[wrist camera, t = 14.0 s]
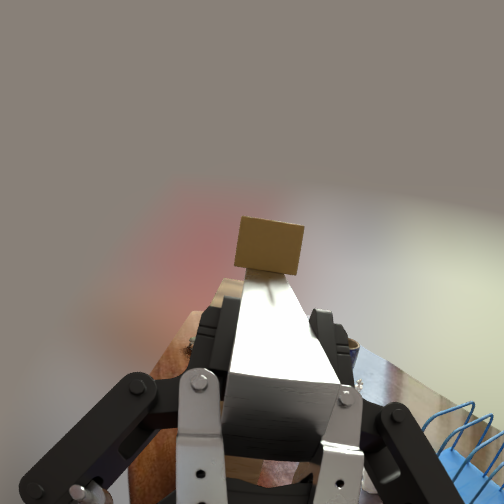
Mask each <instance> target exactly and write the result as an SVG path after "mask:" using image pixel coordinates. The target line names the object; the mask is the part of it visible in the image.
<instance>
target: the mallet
mask: <svg viewBox="0 0 504 504" xmlns="http://www.w3.org/2000/svg"><path fill="white" fill-rule="evenodd" d="M303 233H304V226H303V225H297V224H291V223H285V222H278V221H272V220H266V219H259V218H253V217H247V216H242V217H241V222H240V229H239V235H238V242H237V248H236V255H235V262H234V266H237V267H243V268H246V274H245V279H244V285H243V290H242V296H241V304H240V310H239V317H238V323H237V329H236V330H235V336H234V341H233V347H232V353H231V359H230V364H229V370H228V376H227V383H226V390H225V396H224V403H223V410H222V417H221V423H220V425H221V431H222V436H223V444H224V455H228V456H236V457H244V458H252V459H263V460H275V461H290V462H309V461H310V459H311V457H312V455H313V453H314V451H315V449H316V447H317V445H318V443H319V441H320V439H321V437H322V436H324V434H325V432H326V429H327V426H328V423H329V420H330V417H331V414H332V411H333V408H334V405H335V402H336V399H337V396H338V392H339V389H340V386H341V383H340V381H339V379H338V377H337V375H336V373H335V371H334V370H333V368H332V366H331V364H330V362H329V360H328V358H327V356H326V354H325V352H324V350H323V348H322V346H321V344H320V342H319V340H318V339H317V337H316V335H315V333H314V331H313V329H312V327H311V325H310V323H309V321H308V319H307V317H306V315H305V313H304V312H303V310H302V308H301V306H300V304H299V302H298V300H297V298H296V296H295V294H294V292H293V291H292V289H291V287H290V285H289V283H288V281H287V280H286V277H285V275H284V274H289V275H296V274H297V269H298V263H299V257H300V251H301V245H302V239H303Z"/></svg>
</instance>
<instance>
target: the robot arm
mask: <svg viewBox="0 0 504 504" xmlns="http://www.w3.org/2000/svg"><path fill="white" fill-rule="evenodd" d="M240 304H241V298H238V297H232V296H225V295H224V297H223V302H222V306H221V308H220V307H214V306H209V307H208V308H207V309H206V310H205V311H204V312H203V313H202V315H201V319H200V323H199V327H198V330H197V335H196V338H195V342H194V345H193V349H192V353H191V357H190V361H189V364H188V367H187V369H186V370H185V371H184V372H183V373H182V374H181V375H179V376H177V377H175V378H171V379H161V380H154V379H153V378H152V377H151V376H149V375H148V374H145V373H142V372H133V373H130V374H128V375H126V376H125V377H124V378H122V379H121V380H120V381H119V382H118V383H117V384H116V385H115V386H114V387H113V388H112V389H111V390H110V391H109V392H108V393H107V394H106V395H105V396H104V397H103V398H102V399H101V400H100V401H99V402H98V403H97V404H96V405H95V406H94V407H93V408H92V409H91V410H90V411H89V412H88V413H87V414H86V415H85V416H84V417H83V418H82V419H81V420H80V421H79V422H78V423H77V424H76V425H75V426H74V427H73V428H72V429H71V430H70V431H69V432H68V433H67V434H66V435H65V436H64V437H63V438H62V439H61V440H60V441H59V442H58V443H57V444H56V445H55V446H54V447H53V448H52V449H50V450H49V451H48V452H47V453H46V454H45V455H44V456H43V457H42V459H40V460H39V461H38V462H37V463H36V464H35V465H34V467H32V468H31V469H30V470H29V471H28V472H27V473H26V474H25V476H23V477H22V479H21V481H20V483H19V493H20V496H21V498H22V500H23V502H24V503H25V504H113V499H112V496H111V495H110V493H109V492H108V491H107V489H108V488H109V487H110V486H111V485H112V484H113V483H114V482H115V481H116V480H117V478H118V477H119V476H120V475H121V474H122V473H123V472H124V471H125V470H126V468H127V467H128V466H129V465H130V464H131V463H132V462H133V461H134V459H135V458H136V457H137V456H138V455H139V454H140V453H141V452H142V450H143V449H144V448H145V447H146V446H147V445H148V444H149V442H150V441H151V440H152V439H153V438H154V437H155V436H156V434H157V433H158V432H159V431H160V430H161V429H168V428H178V433H177V438H176V490H174V491H173V492H171V493H170V494H169V495H168V496H166V497H165V498H164V499H162V500H161V501H159V502H158V503H157V504H358V502H359V495H360V489H361V481H362V474H363V466H364V468H365V470H366V472H367V474H368V476H369V478H370V479H371V481H372V483H373V485H374V487H375V489H376V491H377V493H378V494H379V496H380V498H381V500H382V502H383V504H465V503H464V501H463V499H462V497H461V496H460V494H459V492H458V490H457V489H456V487H455V485H454V483H453V482H452V480H451V478H450V476H449V475H448V473H447V471H446V470H445V468H444V466H443V464H442V463H441V461H440V459H439V458H438V456H437V454H436V453H435V451H434V449H433V448H432V446H431V444H430V443H429V441H428V439H427V438H426V436H425V435H424V433H423V431H422V430H421V428H420V426H419V425H418V423H417V422H416V420H415V418H414V417H413V415H412V414H411V412H410V410H409V409H408V408H407V407H406V406H405V405H403V404H401V403H399V402H391V403H388V404H387V405H386V406H384V407H383V406H380V405H377V404H374V403H371V402H369V401H367V400H365V399H363V398H362V396H361V394H360V393H359V392H358V391H357V390H356V388H355V385H354V378H353V370H352V363H351V356H350V349H349V342H348V335H347V333H346V331H345V330H344V328H343V326H342V325H341V324H334V323H333V315H332V311H329V310H321V309H313V311H312V314H311V316H310V319H309V323H310V325H311V327H312V329H313V331H314V333H315V335H316V337H317V339H318V340H319V342H320V344H321V346H322V348H323V350H324V352H325V354H326V356H327V358H328V360H329V362H330V364H331V366H332V368H333V370H334V371H335V373H336V375H337V377H338V379H339V381H340V383H341V386H340V389H339V392H338V396H337V399H336V402H335V405H334V408H333V411H332V414H331V417H330V420H329V423H328V426H327V429H326V432H325V434H324V436H322V437H321V439H320V441H319V443H318V445H317V447H316V449H315V451H314V453H313V455H312V457H311V459H310V461H309V462H300V463H299V465H298V468H297V470H296V472H295V474H294V477H293V481H292V484H290V485H284V486H279V487H273V488H265V487H262V486H258V485H255V484H252V483H249V482H246V481H243V480H241V479H236V478H229V477H226V474H225V459H224V444H223V436H222V431H221V425H220V423H221V412H220V401H224V396H225V390H226V383H227V376H228V370H229V364H230V359H231V353H232V347H233V341H234V336H235V330H236V329H237V323H238V317H239V310H240Z"/></svg>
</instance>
